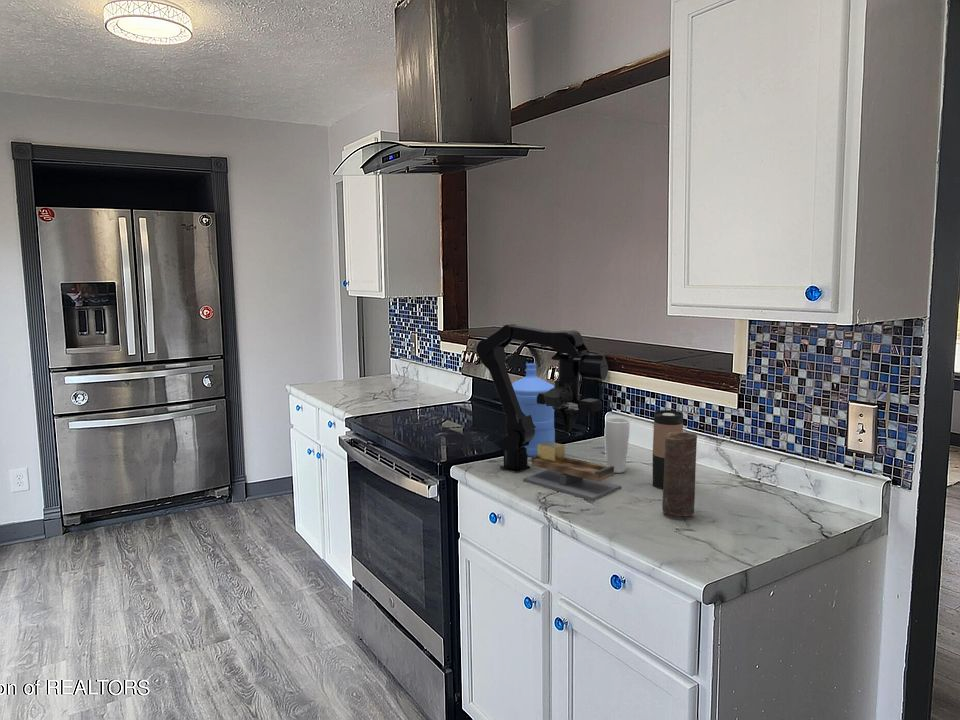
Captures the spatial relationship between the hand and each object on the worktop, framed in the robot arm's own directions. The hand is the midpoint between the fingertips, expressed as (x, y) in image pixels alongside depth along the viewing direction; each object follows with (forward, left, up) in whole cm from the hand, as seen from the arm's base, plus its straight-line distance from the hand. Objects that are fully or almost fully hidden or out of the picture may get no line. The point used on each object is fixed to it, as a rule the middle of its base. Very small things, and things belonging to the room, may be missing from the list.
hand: (567, 432), depth 193 cm
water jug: (-25, +14, -13) cm, 32 cm away
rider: (-2, -5, -8) cm, 10 cm away
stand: (+5, -5, -13) cm, 15 cm away
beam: (+5, -5, -8) cm, 11 cm away
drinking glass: (+7, +14, -13) cm, 21 cm away
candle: (+37, -6, -13) cm, 40 cm away
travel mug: (+24, +12, -13) cm, 30 cm away
